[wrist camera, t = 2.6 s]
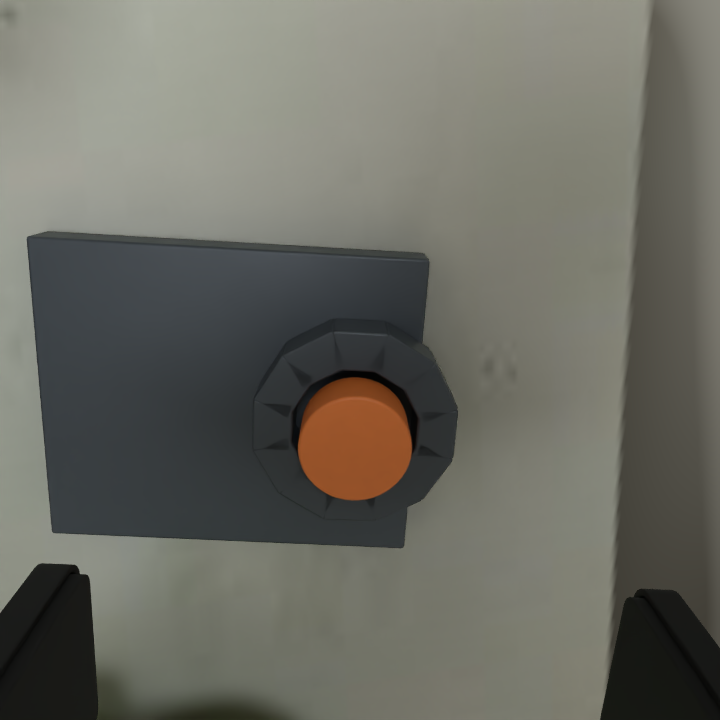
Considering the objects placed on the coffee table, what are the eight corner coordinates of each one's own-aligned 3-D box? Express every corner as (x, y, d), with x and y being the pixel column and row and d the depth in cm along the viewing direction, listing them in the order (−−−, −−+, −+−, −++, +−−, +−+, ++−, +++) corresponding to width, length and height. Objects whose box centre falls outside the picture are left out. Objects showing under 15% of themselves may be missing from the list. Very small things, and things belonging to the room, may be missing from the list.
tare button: (411, 379, 20) (416, 399, 18) (403, 476, 21) (407, 504, 19) (303, 373, 20) (299, 393, 18) (300, 471, 21) (295, 499, 19)
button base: (457, 254, 21) (474, 270, 19) (429, 529, 24) (440, 579, 22) (46, 230, 21) (-2, 243, 18) (67, 512, 24) (29, 561, 21)
